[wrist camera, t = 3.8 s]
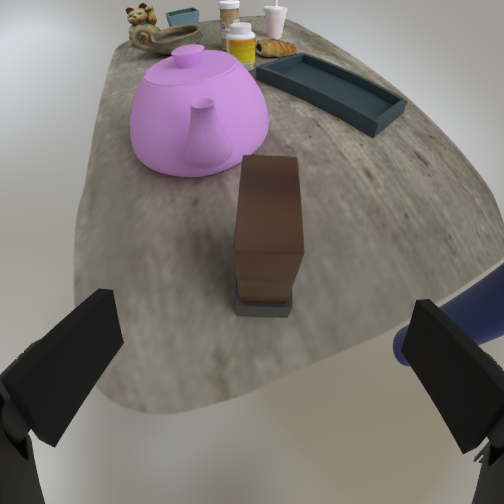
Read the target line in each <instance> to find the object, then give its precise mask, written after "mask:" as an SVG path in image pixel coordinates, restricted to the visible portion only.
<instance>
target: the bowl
mask: <svg viewBox="0 0 504 504" xmlns="http://www.w3.org/2000/svg"><path fill="white" fill-rule="evenodd" d="M141 32H145V33H147V34H148V35H149V44H147V45H143V44H141V43H140V42H139V41H138V39H137V35H138V34H139V33H141ZM201 38H202V33H200V27H199V25H196V24H189V25H177V26H173V27H169V28H166V29H163V30H160V31H158V32H157V33H155V34H152V32H151V31H150V29H148V28H147V27H144V26H141V27H138V28H136V29H135V30H134V31H133V32H132V34H131V40H132V43H133V44H134V45H135V46H136V47H137V48H139V49H142V50H147V51H151V52H155V53H159V54H168V55H169V54H171V52H172V51H173V50H174V49H176V48H178V47H181V46H184V45H190V44H197V43H198V42H199V41H200V40H201Z"/></svg>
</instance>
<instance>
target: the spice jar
mask: <svg viewBox="0 0 504 504" xmlns="http://www.w3.org/2000/svg"><path fill="white" fill-rule="evenodd" d="M239 7H240V5H239V1H235V0H229V1H221V2H219V9H220V18H221V39H222V47H221V48H222V49H223V50H226V34H227V33H229V32H230V24H233V23H239Z"/></svg>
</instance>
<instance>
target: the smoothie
mask: <svg viewBox="0 0 504 504" xmlns="http://www.w3.org/2000/svg"><path fill="white" fill-rule="evenodd" d="M264 11H265V17H266V25H267V33H268V37H269V38H274V39H278V38H281V36H282V31H283V26H284V22H285V17H286V12H288V9H287V8H285V7H279V6H278V0H276V5H275V6H266V7H264Z"/></svg>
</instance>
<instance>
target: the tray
mask: <svg viewBox="0 0 504 504" xmlns="http://www.w3.org/2000/svg"><path fill="white" fill-rule="evenodd" d="M256 79H257V80H259V81H262V82H264V83H267V84H269V85H272V86H274V87H276V88H279V89H281V90H283V91H286V92H288V93H290V94H292V95H295V96H297V97H299V98H301V99H303V100H305V101H307V102H309V103H311V104H313V105H315V106H317V107H319V108H321V109H323V110H325V111H327V112H329V113H331V114H333V115H335V116H337V117H338V118H340V119H342V120H344V121H346V122H347V123H349V124H351V125H353V126H354V127H356V128H358V129H359V130H361V131H363V132H364V133H366V134H368V135H369V136H371V137H373V138H374V137H375V136H376V135H378V134H379V133H380V132H381V131H382V130H383V129H384V128H386V127H387V126H388V125H389V124H390V123H391V122H393V121H394V120H395V119H396V118H397V117H398V116H400V115H401V114H402V113H403V112H404V109H405V106H406V104H407V100H405V99H403V98H402V97H400V96H398V95H396V94H395V93H393V92H391V91H389V90H387V89H385V88H384V87H382V86H380V85H378V84H376V83H374V82H372V81H370V80H368V79H366V78H364V77H362V76H360V75H357V74H355V73H353V72H351V71H349V70H346V69H344V68H342V67H339V66H337V65H335V64H332V63H330V62H327V61H325V60H322V59H319V58H317V57H314V56H311V55H308V54H306V53H299V54H295V55H292V56H288V57H285V58H282V59H278V60H275V61H272V62H269V63H266V64H263V65H260V66H257V67H256Z"/></svg>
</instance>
